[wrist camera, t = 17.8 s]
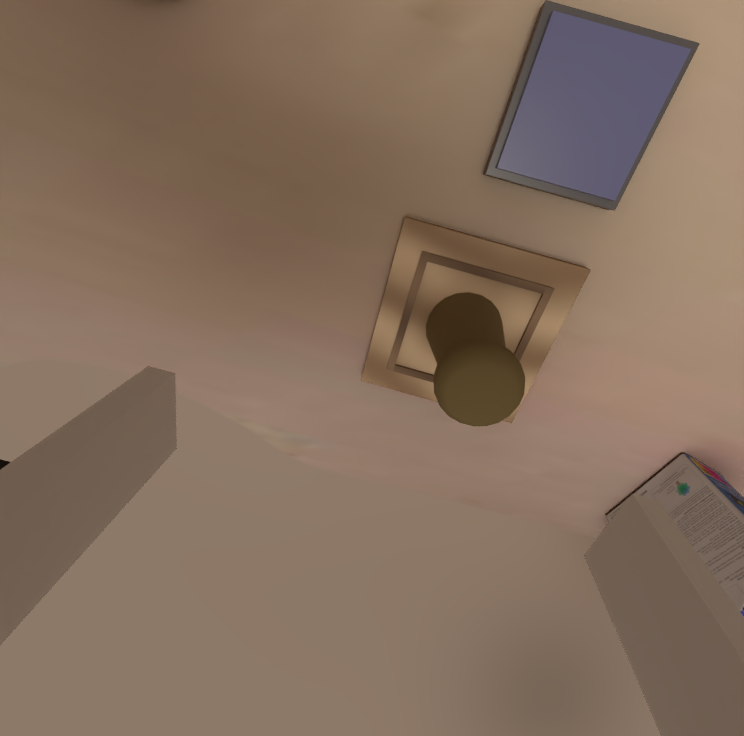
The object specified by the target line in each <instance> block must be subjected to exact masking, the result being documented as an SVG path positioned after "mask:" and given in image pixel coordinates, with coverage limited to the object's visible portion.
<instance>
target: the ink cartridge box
mask: <svg viewBox="0 0 744 736" xmlns="http://www.w3.org/2000/svg"><path fill="white" fill-rule="evenodd" d="M633 494H636V495H639V496H643V497H647V498H651V499H655V500H658V501H659V502H660V503H661V504H662V506H663V507H664V508H665V510H666V511H667V513H668V514H669V515H670V517H671V518H672V519H673V521H674V522H675V523H676V525H677V526H678V528H679V529H680V530H681V532H682V533H683V534H684V536H685V537H686V538H687V540H688V541H689V543H690V544H691V545H692V547H693V548H694V549H695V551H696V552H697V554H698V555H699V556H700V558H701V559H702V560H703V562H704V563H705V564H706V566H707V567H708V569H709V570H710V571H711V573H712V574H713V575H714V577H715V578H716V580H717V581H718V582H719V584H720V585H721V586H722V588H723V589H724V590H725V592H726V593H727V595H728V596H729V597H730V599H731V600H732V601H733V603H734V604H735V605H736V607H737V608H738V610H739V611H740V612H741V614H742V615H743V616H744V498H743V497H742V496H741V495H740V494H739V493H738V492H737V491H736V490H735V489H734V488H733V487H732V486H731V485H730V484H729V483H728V482H727V481H726V480H725V479H724V478H723V476H721V475H720V474H719V473H717V472H716V471H714V470H712V469H711V468H709V467H707V466H706V465H704V464H703V463H701V462H699V461H698V460H696V459H694V458H692V457H691V456H689V455H687V454H681V455H680V456H679V457H677V458H676V459H675V460H674V461H673V462H671V463H670V464H669V465H668V466H666V467H665V468H664V469H663V470H662V471H660V472H659V473H658V474H657V475H656V476H654V477H653V478H652V479H651V480H649V481H648V482H647V483H646V484H645V485H643V486H642V487H641V488H640V489H638V490H637V491H636V492H635V493H633ZM628 498H629V497H628ZM628 498H627V499H626V500H625V501H624V502H622V503H621V504H620V505H619V506H618V507H616V508H615V509H614V510H613V511H611V512H610V513H609V514H608V515H607V516H606V518H607V520H608V522H609V523H610V521H611V520H612V519H613V518H614V516H615V515H616V514H617V512H618V511H619V510H620V509H621V507H622V506H623V505H624V504H625V502H626V501H627V500H628Z"/></svg>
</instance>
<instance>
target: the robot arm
mask: <svg viewBox="0 0 744 736" xmlns="http://www.w3.org/2000/svg"><path fill="white" fill-rule="evenodd" d="M175 395H176V393H175V373H172V372H168V371H165V370H161V369H157V368H153V367H149V366H148V367H146V368H145V369H144V370H142V371H141V372H139V373H138V374H136V375H135V376H134V377H132V378H131V379H130V380H128V381H127V382H125V383H124V384H122V385H121V386H120V387H118V388H117V389H115V390H114V391H112V392H111V393H109V394H108V395H106V396H105V397H104V398H102V399H101V400H99V401H98V402H96V403H95V404H94V405H92V406H91V407H89V408H88V409H86V410H85V411H84V412H82V413H81V414H79V415H78V416H77V417H75V418H74V419H72V420H71V421H69V422H68V423H67V424H65V425H63V426H62V427H61V428H59V429H58V430H56V431H55V432H53V433H52V434H51V435H49V436H48V437H46V438H45V439H43V440H42V441H41V442H39V443H38V444H36V445H35V446H33V447H32V448H31V449H29V450H28V451H26V452H25V453H24V454H22V455H21V456H19V457H18V458H16V459H15V460H13V461H12V462H8V461H4V460H0V645H1V644H2V643H3V642H4V641H5V639H6V638H7V637H8V636H9V635H10V634H11V633H12V632H13V630H14V629H15V628H16V627H17V626H18V625H19V624H20V623H21V622H22V620H23V619H24V618H25V617H26V616H27V615H28V614H29V613H30V612H31V610H32V609H33V608H34V607H35V606H36V605H37V604H38V603H39V601H40V600H41V599H42V598H43V597H44V596H45V595H46V594H47V593H48V591H49V590H50V589H51V588H52V587H53V586H54V585H55V584H56V582H57V581H58V580H59V579H60V578H61V577H62V576H63V575H64V573H65V572H66V571H67V570H68V569H69V568H70V567H71V566H72V565H73V563H74V562H75V561H76V560H77V559H78V558H79V557H80V556H81V555H82V553H83V552H84V551H85V550H86V549H87V548H88V547H89V546H90V545H91V543H92V542H93V541H94V540H95V539H96V538H97V537H98V535H99V534H100V533H101V532H102V531H103V530H104V529H105V528H106V527H107V525H108V524H109V523H110V522H111V521H112V520H113V519H114V518H115V517H116V515H117V514H118V513H119V512H120V511H121V510H122V509H123V508H124V507H125V505H126V504H127V503H128V502H129V501H130V500H131V499H132V498H133V496H134V495H135V494H136V493H137V492H138V491H139V490H140V489H141V488H142V486H143V485H144V484H145V483H146V482H147V481H148V480H149V479H150V478H151V476H152V475H153V474H154V473H155V472H156V471H157V470H158V469H159V468H160V466H161V465H162V464H163V463H164V462H165V461H166V460H167V459H168V457H169V456H170V455H171V454H172V453H173V452H174V451H175V450H176V449H177V448H176V396H175ZM584 557H585V559H586V562H587V564H588V566H589V569H590V571H591V573H592V576H593V578H594V580H595V583H596V585H597V587H598V590H599V592H600V594H601V597H602V599H603V601H604V604H605V606H606V608H607V611H608V613H609V615H610V618H611V620H612V622H613V625H614V627H615V629H616V632H617V634H618V636H619V639H620V641H621V643H622V646H623V648H624V650H625V653H626V655H627V657H628V660H629V662H630V664H631V667H632V669H633V671H634V674H635V676H636V678H637V681H638V683H639V685H640V688H641V690H642V692H643V695H644V697H645V699H646V702H647V704H648V706H649V709H650V711H651V713H652V716H653V718H654V720H655V723H656V725H657V728H658V730H659V732H660V734H661V736H744V616H743V615H742V614H741V612H740V611H739V610H738V608H737V607H736V605H735V604H734V603H733V601H732V600H731V599H730V597H729V596H728V595H727V593H726V592H725V590H724V589H723V588H722V586H721V585H720V584H719V582H718V581H717V580H716V578H715V577H714V575H713V574H712V573H711V571H710V570H709V569H708V567H707V566H706V564H705V563H704V562H703V560H702V559H701V558H700V556H699V555H698V554H697V552H696V551H695V549H694V548H693V547H692V545H691V544H690V543H689V541H688V540H687V538H686V537H685V536H684V534H683V533H682V532H681V530H680V529H679V528H678V526H677V525H676V523H675V522H674V521H673V519H672V518H671V517H670V515H669V514H668V513H667V511H666V510H665V508H664V507H663V506H662V504H661V503H660V502H659V501H658V500H655V499H651V498H647V497H643V496H639V495H636V494H632V495H631V496H630V497H629V498H628V500H627V501H626V502H625V504H624V505H623V506H622V507H621V509H620V510H619V511H618V512H617V514H616V515H615V516H614V518H613V519H612V520H611V521H610V523H609V524H608V525H607V527H606V528H605V529H604V530H603V532H602V533H601V534H600V535H599V537H598V538H597V539H596V541H595V542H594V543H593V544H592V546H591V547H590V548H589V550H588V551H587V552H586V553H585V555H584Z"/></svg>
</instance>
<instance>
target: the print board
mask: <svg viewBox="0 0 744 736" xmlns="http://www.w3.org/2000/svg"><path fill="white" fill-rule="evenodd" d="M589 272H590V269H588V268H586V267H583V266H579V265H576V264H572V263H569V262H565V261H562V260H558V259H554V258H551V257H547V256H544V255H540V254H537V253H533V252H530V251H526V250H523V249H519V248H515V247H512V246H508V245H505V244H501V243H498V242H494V241H491V240H487V239H484V238H480V237H476V236H473V235H469V234H466V233H462V232H459V231H455V230H452V229H448V228H445V227H441V226H437V225H434V224H430V223H427V222H423V221H420V220H416V219H413V218H409V217H405V219H404V222H403V226H402V230H401V233H400V237H399V241H398V245H397V248H396V252H395V256H394V259H393V263H392V267H391V270H390V274H389V278H388V281H387V285H386V289H385V293H384V296H383V300H382V304H381V307H380V311H379V315H378V318H377V322H376V326H375V330H374V333H373V337H372V341H371V344H370V348H369V352H368V355H367V359H366V363H365V366H364V370H363V374H362V378H361V381H365V382H368V383H372V384H375V385H379V386H382V387H386V388H389V389H393V390H396V391H400V392H404V393H407V394H411V395H414V396H418V397H421V398H425V399H428V400H432V401H435V402H438V401H437V398H436V396H435V394H434V382H433V376H434V373H435V370H436V366H437V362H436V360H435V357H434V355H433V352H432V350H431V347H430V345H429V342H428V340H427V337H426V323H427V320H428V316H429V314H430V313H431V311H432V310H433V308H434V307H435V305H437V304H438V303H439V302H440V301H442V300H443V299H444V298H446V297H448V296H451V295H453V294H456V293H465V292H471V293H475V294H479V295H482V296H484V297H485V298H487V299H489V300H490V301H492V303H493V304H494V305H495V306H496V308H497V309H498V310H499V313H500V316H501V319H502V324H503V331H504V338H505V345H506V348H507V349H509V350H511V351H512V353H513V354H514V355H515V356H516V358H517V359H518V360H519V362H520V363H521V365H522V368H523V371H524V375H525V391H524V396H523V398H522V400H521V402H520V405H519V406H518V407H517V408H516V409H515V410H514V411H513V412H512V414H511V415H510V416H509V417H507V418H505V419H503V421H506V422H510V423H512V421H513V420H514V418H515V416H516V414H517V412H518V410H519V408H520V406H521V404H522V402H523V400H524V398H525V396H526V394H527V392H528V390H529V389H530V387H531V385H532V383H533V381H534V379H535V377H536V375H537V373H538V371H539V369H540V367H541V365H542V363H543V361H544V360H545V358H546V356H547V354H548V352H549V350H550V348H551V346H552V344H553V342H554V340H555V338H556V336H557V334H558V332H559V330H560V329H561V327H562V325H563V323H564V321H565V319H566V317H567V315H568V313H569V311H570V309H571V307H572V305H573V303H574V301H575V299H576V298H577V296H578V294H579V292H580V290H581V288H582V286H583V284H584V282H585V280H586V278H587V276H588V274H589Z"/></svg>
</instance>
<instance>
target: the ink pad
mask: <svg viewBox="0 0 744 736" xmlns="http://www.w3.org/2000/svg"><path fill="white" fill-rule="evenodd" d="M699 44H700V43H697V42H693V41H690V40H686V39H683V38H679V37H675V36H672V35H668V34H665V33H661V32H658V31H654V30H650V29H647V28H643V27H640V26H636V25H633V24H629V23H626V22H622V21H618V20H615V19H611V18H608V17H604V16H601V15H597V14H593V13H590V12H586V11H583V10H579V9H576V8H572V7H569V6H565V5H561V4H558V3H554V2H551V1H547V0H546V1H545V3H544V4H543V6H542V7H541V9H540V11H539V14H538V17H537V20H536V23H535V26H534V29H533V32H532V35H531V38H530V40H529V43H528V46H527V49H526V52H525V55H524V58H523V61H522V64H521V67H520V69H519V72H518V75H517V78H516V81H515V84H514V87H513V90H512V93H511V96H510V99H509V101H508V104H507V107H506V110H505V113H504V116H503V119H502V122H501V125H500V128H499V130H498V133H497V136H496V139H495V142H494V145H493V148H492V151H491V154H490V157H489V160H488V162H487V165H486V168H485V171H484V174H483V175H487V176H490V177H494V178H497V179H501V180H505V181H508V182H512V183H515V184H519V185H522V186H526V187H529V188H533V189H536V190H540V191H544V192H547V193H551V194H554V195H558V196H561V197H565V198H568V199H572V200H576V201H579V202H583V203H586V204H590V205H593V206H597V207H600V208H604V209H608V210H615V209H616V207H617V205H618V203H619V201H620V199H621V197H622V195H623V193H624V191H625V189H626V187H627V185H628V183H629V181H630V180H631V178H632V176H633V174H634V172H635V170H636V168H637V166H638V164H639V162H640V160H641V158H642V156H643V154H644V152H645V150H646V148H647V146H648V144H649V142H650V140H651V138H652V136H653V134H654V132H655V130H656V128H657V126H658V124H659V123H660V121H661V119H662V117H663V115H664V113H665V111H666V109H667V107H668V105H669V103H670V101H671V99H672V97H673V95H674V93H675V91H676V89H677V87H678V85H679V83H680V81H681V79H682V77H683V75H684V73H685V71H686V69H687V67H688V66H689V64H690V62H691V60H692V58H693V56H694V54H695V52H696V50H697V48H698V46H699Z"/></svg>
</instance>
